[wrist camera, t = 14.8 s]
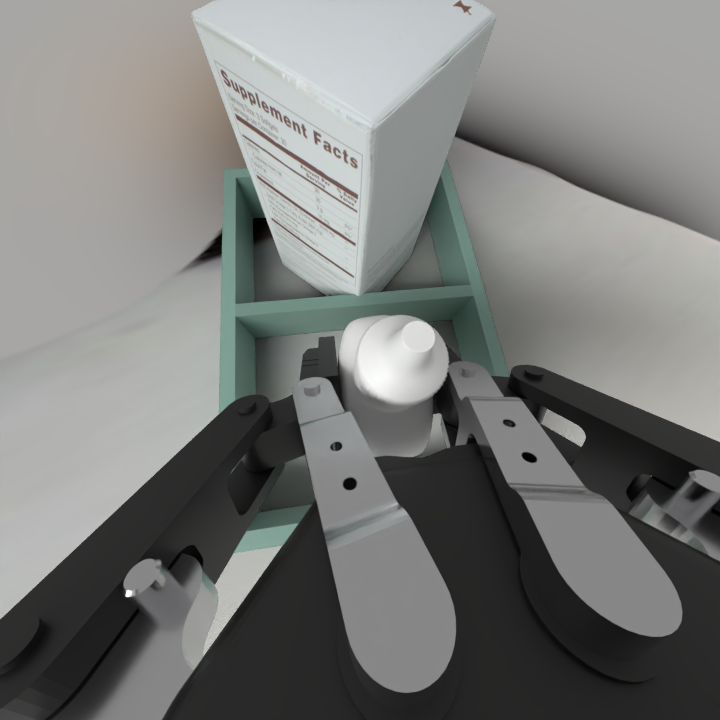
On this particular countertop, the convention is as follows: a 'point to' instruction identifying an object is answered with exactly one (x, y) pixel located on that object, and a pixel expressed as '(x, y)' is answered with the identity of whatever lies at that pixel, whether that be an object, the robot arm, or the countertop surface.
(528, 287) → the countertop surface
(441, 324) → the countertop surface
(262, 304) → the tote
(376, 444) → the eye dropper bottle
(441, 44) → the supplement box
